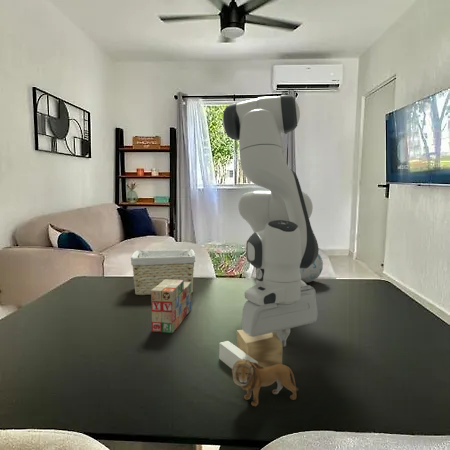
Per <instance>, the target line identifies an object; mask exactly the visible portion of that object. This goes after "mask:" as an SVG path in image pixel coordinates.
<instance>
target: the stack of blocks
mask: <svg viewBox="0 0 450 450" xmlns="http://www.w3.org/2000/svg"><path fill="white" fill-rule="evenodd" d="M150 297H151V298H150V300H151V301H150V303H151V304H150V306H151V307H150V308H151V309H150V310H151V332H153V333H155V332H156V333H167V334H173V333H174V332H175V330H177V329H178V327H179V326H180V325H181V323H182V321H183V320H184V319H185V317H186V316H187V315H188V314H189V312H191V310H192V293H191V282H184V280H168V279H165V280H163V281H162V282H161V283H160V284H159V285H157V286H156V287H155V288H153V289H152V290H151V295H150Z"/></svg>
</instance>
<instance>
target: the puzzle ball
mask: <svg viewBox="0 0 450 450" xmlns="http://www.w3.org/2000/svg"><path fill="white" fill-rule="evenodd" d="M323 265H324V263H323V258H322V257H321V254H319V253H318V256H317V258H316V260H315V261H314V262H313V263H312V264H311V265H310V266H309V267H308V268H306V269H303V268H300V274H301V280H302V281H303V282H305V283H306V284H307V283H311V282H313V281H314V280H315V281H316V280H317V279H318V278H319V277H320V276H321V273H322V271H323V267H324V266H323Z"/></svg>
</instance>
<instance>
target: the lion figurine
mask: <svg viewBox="0 0 450 450" xmlns="http://www.w3.org/2000/svg"><path fill="white" fill-rule="evenodd" d="M231 374H232V380H233V382H234V384H235V385H236V386H239V387H240V388H241V389H242V390H244V391H246V394H245V395H244V397H243V398H244V400H245V401H247V400H250V399H251V397H253V399H252V401H251V406H252V407H257V406H258V405H259V394H260V390H261V388H262V387H269V386H271V385H273V384H275V382H276V384H277V386H276V389H272V390H271V393H272V394H273V395H278V394H279V393H280V391H281V390H283V388H285V389H286V390H289V391H290V392H291V393H292V394H291V395H290V396H289V399H290V400H292V401H295V400H296V399H297V392H298V391H299V390H300V389H299V388H298V387H297V385H296V379H295V374H294V373H293V370H292V369H291V368H290V367H289V366H288V365H285V364H283V363H282V364H276V365H273V366H269V367H261V366H259V365H258V364H257V363H254V362H250V361H249V360H244V359H243V360H238V361H237V362H236V363H235V364H234V366H233V369H231ZM252 395H253V396H252Z"/></svg>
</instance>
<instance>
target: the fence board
mask: <svg viewBox="0 0 450 450" xmlns="http://www.w3.org/2000/svg"><path fill="white" fill-rule="evenodd" d="M218 345H219V346H218V347H219V349H218V350H219V353H218V355H219V357H218V358H219V360H220V361H221V362H222V363H224V364H225V365H226V366H228V367H229V368H230V369H231V370H232V369H233V366H234V364H235V363H236V362H237V361H238V360H243V359H244V360H249V361H250V362H254V363H257V364H258V362H257V361H256V360H254V359H253V358H252V357H250V356H249V355H247V354H246V353H245V352H243V351H242V350H240V349H239V348H238V347H237V345H235V344H233V342H230V340H225V341H222V342H219V344H218Z"/></svg>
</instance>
